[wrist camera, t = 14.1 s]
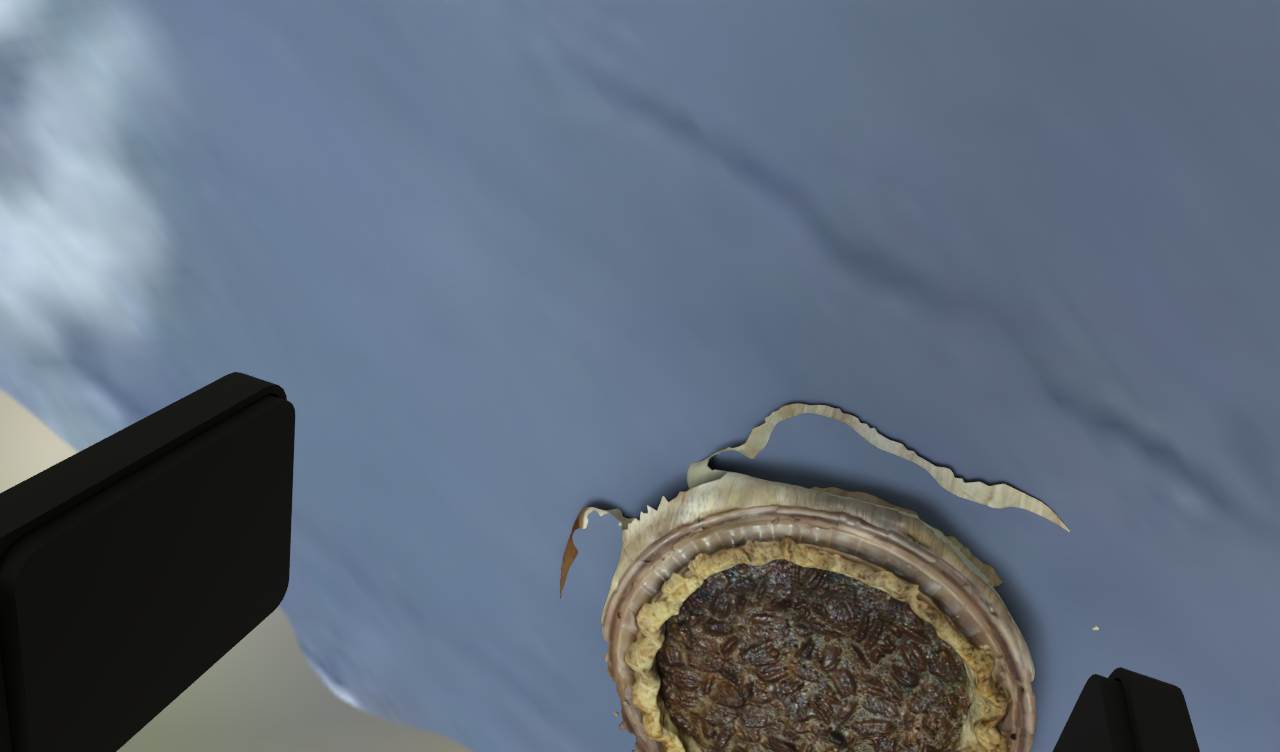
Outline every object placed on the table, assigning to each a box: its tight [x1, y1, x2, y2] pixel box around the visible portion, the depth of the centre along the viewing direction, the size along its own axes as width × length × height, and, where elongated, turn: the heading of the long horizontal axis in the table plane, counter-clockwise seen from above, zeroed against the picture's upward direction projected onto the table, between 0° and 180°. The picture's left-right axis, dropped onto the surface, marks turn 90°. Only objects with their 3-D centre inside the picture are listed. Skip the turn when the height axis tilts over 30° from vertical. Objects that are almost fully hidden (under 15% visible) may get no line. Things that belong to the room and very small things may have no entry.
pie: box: [560, 403, 1099, 752], centre depth 49 cm, size 28×27×5 cm
